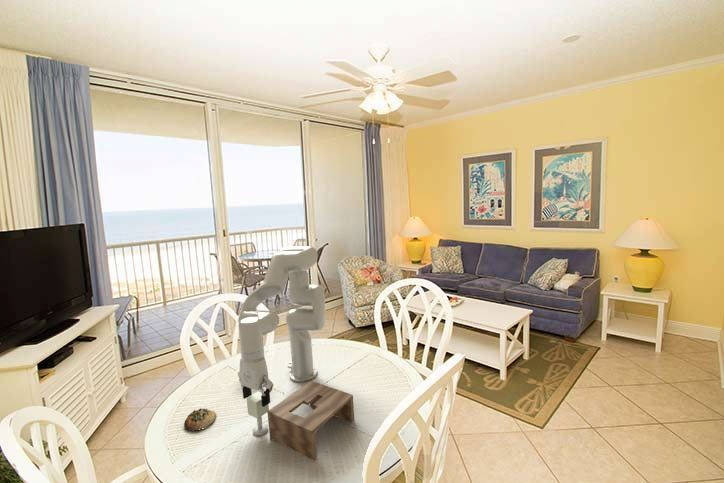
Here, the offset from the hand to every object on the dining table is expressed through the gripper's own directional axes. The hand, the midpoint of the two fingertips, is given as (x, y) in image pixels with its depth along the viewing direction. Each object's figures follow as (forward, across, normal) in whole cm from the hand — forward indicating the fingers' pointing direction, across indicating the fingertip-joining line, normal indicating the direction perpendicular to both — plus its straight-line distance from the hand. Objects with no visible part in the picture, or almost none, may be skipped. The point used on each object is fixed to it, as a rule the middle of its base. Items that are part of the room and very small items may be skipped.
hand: (256, 400), depth 119 cm
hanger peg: (+12, 0, +1) cm, 12 cm away
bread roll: (+12, -24, -7) cm, 28 cm away
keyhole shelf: (+12, +16, +11) cm, 22 cm away
